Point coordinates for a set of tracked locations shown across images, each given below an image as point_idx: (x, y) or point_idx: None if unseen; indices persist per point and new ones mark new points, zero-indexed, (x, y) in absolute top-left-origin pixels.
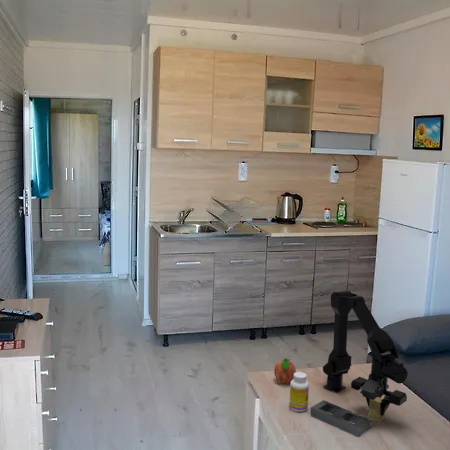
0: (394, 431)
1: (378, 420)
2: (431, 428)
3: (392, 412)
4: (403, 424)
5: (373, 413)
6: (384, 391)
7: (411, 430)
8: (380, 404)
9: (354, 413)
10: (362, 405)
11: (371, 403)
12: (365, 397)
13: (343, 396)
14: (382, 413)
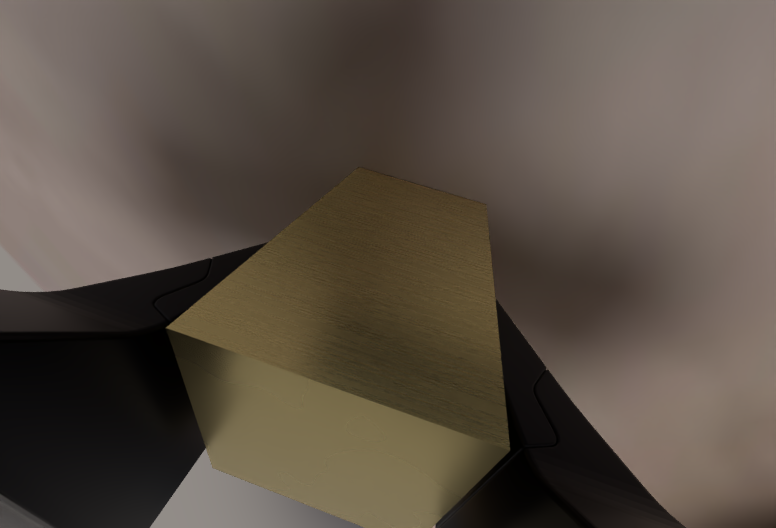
0: (143, 30)
1: (359, 170)
2: (66, 259)
3: None
4: (185, 228)
5: (416, 216)
6: None
7: (92, 162)
8: (216, 305)
9: None
10: (568, 388)
11: (446, 326)
12: (641, 488)
13: (770, 475)
14: None
